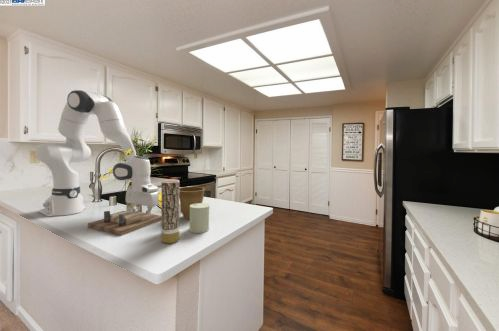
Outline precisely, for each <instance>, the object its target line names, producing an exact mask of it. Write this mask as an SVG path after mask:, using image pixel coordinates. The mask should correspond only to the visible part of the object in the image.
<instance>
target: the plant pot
mask: <svg viewBox="0 0 499 331" xmlns="http://www.w3.org/2000/svg"><path fill="white" fill-rule="evenodd" d="M204 195H205V187H201V186H186V187H185V186H184V187H179V199H180V205H181V211H180V212H181V214H182V216H183V218H184V219H186V220H190V205H191V204H196V203H204V202H203V200H204Z"/></svg>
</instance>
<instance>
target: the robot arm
mask: <svg viewBox="0 0 499 331" xmlns="http://www.w3.org/2000/svg"><path fill="white" fill-rule="evenodd" d="M90 115H96V117H97V119H98V124H99V128H100V131H101V133H102V134H103V136H104V137H105V138H106V139H108V140H110V141H112V142H113V143H116V144H117V145H118V146H120V147H121V149H122V151H123V153H124V156H125V158H126V160H124V161H121V162H118V163H116V164H115V165H114V166H113V168H112V174H113V177H114V178H115V179H116V180H117V181H123V182H125V181H129V180H131V185H129V186H127V189H126V193H125V203H127V204H130V205H131V208H132V211H133V212H137V211H138V210H139V209H138V208H139V207H137V206H138V205H139V206H145V207H147V210H146V211H145V213H146V214H148V215H149V214H152V212H151V211H152V209H153V207H158V205H159V202H160V200H159V193H158V191H159V187H158V186H157V185H155V184H153V183H152V182H151V181H152V179H151V171H152V170H151V168H152V167H151V163H150V162H151V161H150V159H149V158H148V157H146V156H140V155H138V156H137V155H136V151H137V149H136V147H135V144H134V141H133V139H132V137H131V135H130V134H129V131H128V130H127V127H126V125H125V120H124V118H123V116H122V112H121V110H120V109H119V106H118V105H117V103H115V102H114V101H113V100H112V99H111V98H110V97H109V96H106V95H101V94H99V93H96V92H89V91H84V90H81V89H80V90H79V89H78V90H77V89H75V90H72V91H70V92H69V93H68V95H67V100H66V103H65V105H64V107H63V109H62V112H61V115H60V120H59V124H58V127H57V130H58V133H59V134H61V136H63V137H64V138H65V142H54V141H53V142H52V141H51V142H45V143H40V144H39V145H37V147H36V148H35V157H36V158H37V159H38V161H40V162H41V163H43V164H44V165H46V167H48V168H49V170H50V172H51V175H52V182H53V183H52V184H53V188H52V189H51V194H50V196H49V197H48V198H47V199H46V200H45V201H44V202H43V204H42V205H43V208H42V209H39V210H38V212H39V213H40V214H42V215H44V216H45V217H57V216H59V217H60V216H69V215H70V216H71V215H74V214H78V213H82V212H83V211H84V210H85V209H86V206H85V205H84V197H83V195H82V194H81V186H80V174H79V172H78V171H76V170H74V169H72V168H71V167H70V165H69V163H81V162H86V161H88V160H89V159H90V158H91V156H92V150H91V148H90V146H88V145H87V143H86V142H85V131H86V128H87V127H86V126H87V123H88V120H89V116H90ZM128 149H131V150H132V151H133V152H132V153H131V154H130V155H126V154H125V151H126V150H128ZM138 212H139V211H138Z"/></svg>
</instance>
